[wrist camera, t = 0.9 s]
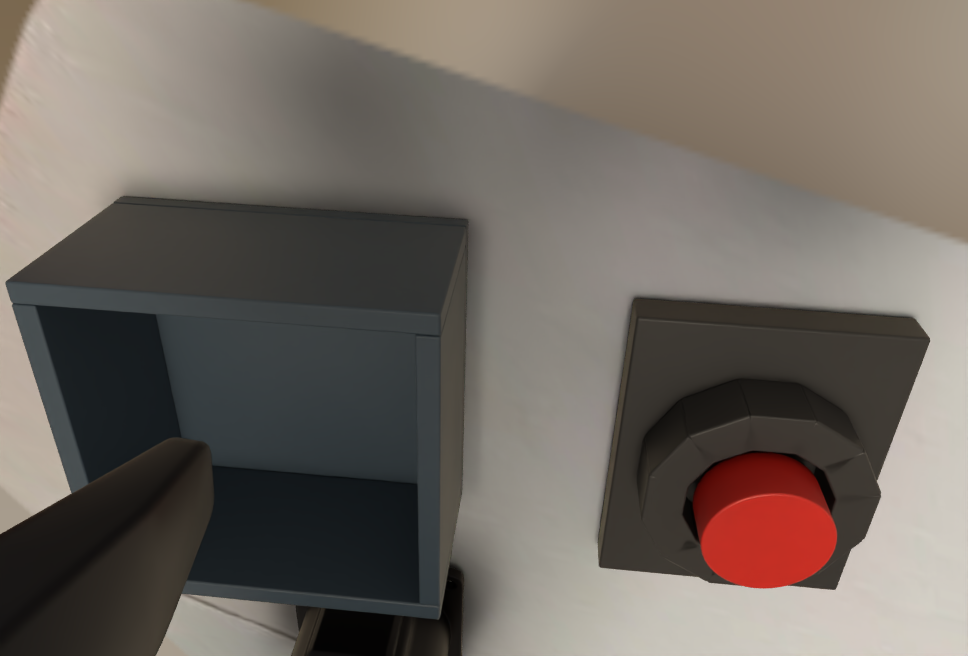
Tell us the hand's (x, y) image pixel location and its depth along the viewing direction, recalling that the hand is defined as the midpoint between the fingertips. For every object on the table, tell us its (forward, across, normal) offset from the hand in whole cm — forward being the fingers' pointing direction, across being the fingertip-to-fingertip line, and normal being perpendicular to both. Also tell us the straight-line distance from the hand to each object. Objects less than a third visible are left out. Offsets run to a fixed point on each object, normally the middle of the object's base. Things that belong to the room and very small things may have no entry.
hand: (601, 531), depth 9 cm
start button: (+11, -7, +9) cm, 16 cm away
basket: (+14, +7, +8) cm, 18 cm away
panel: (+14, -7, +9) cm, 18 cm away
